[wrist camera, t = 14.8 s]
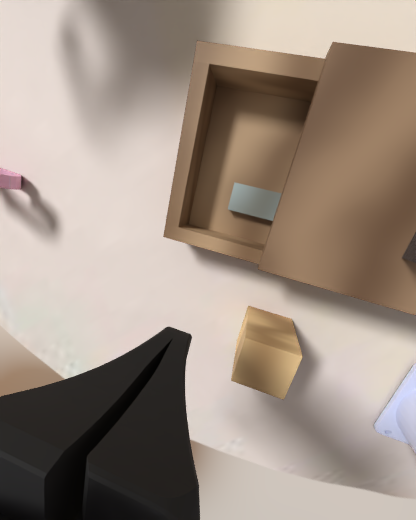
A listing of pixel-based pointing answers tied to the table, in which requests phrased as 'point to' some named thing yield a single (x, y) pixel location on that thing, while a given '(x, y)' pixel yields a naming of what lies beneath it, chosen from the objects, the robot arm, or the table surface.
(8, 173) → the decorative key
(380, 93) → the lid
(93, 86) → the table surface
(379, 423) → the robot arm
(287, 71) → the brown shallow open box
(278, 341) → the wooden block
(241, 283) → the table surface
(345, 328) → the table surface
